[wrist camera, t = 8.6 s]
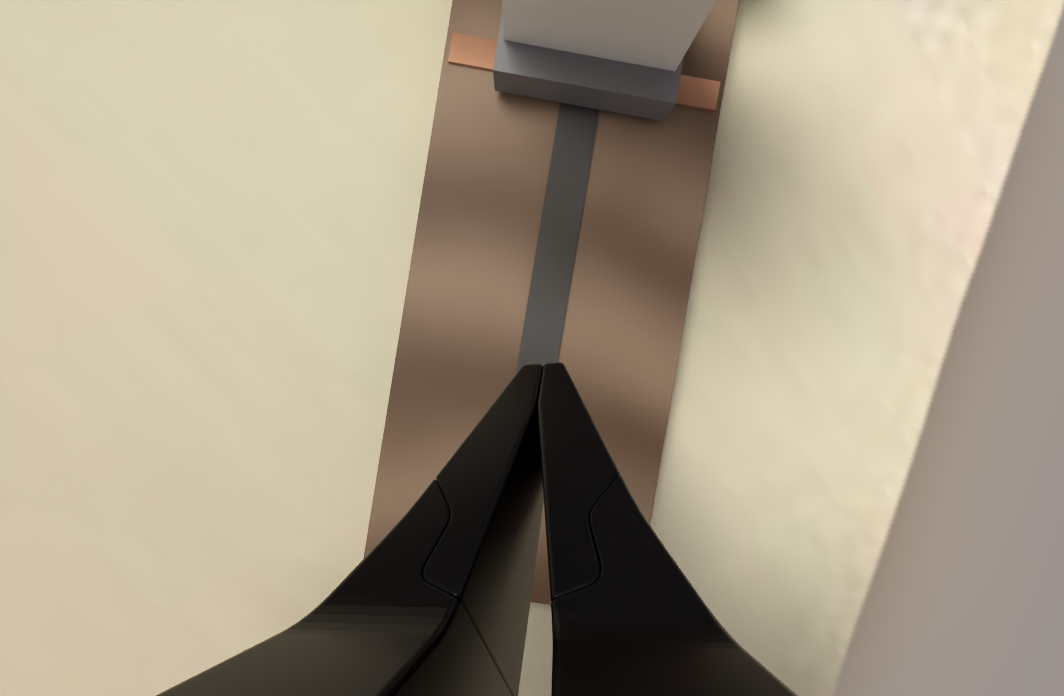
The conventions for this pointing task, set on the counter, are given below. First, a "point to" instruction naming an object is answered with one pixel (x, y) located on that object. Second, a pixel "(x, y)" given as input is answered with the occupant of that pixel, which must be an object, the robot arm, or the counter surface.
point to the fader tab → (597, 52)
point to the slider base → (547, 262)
